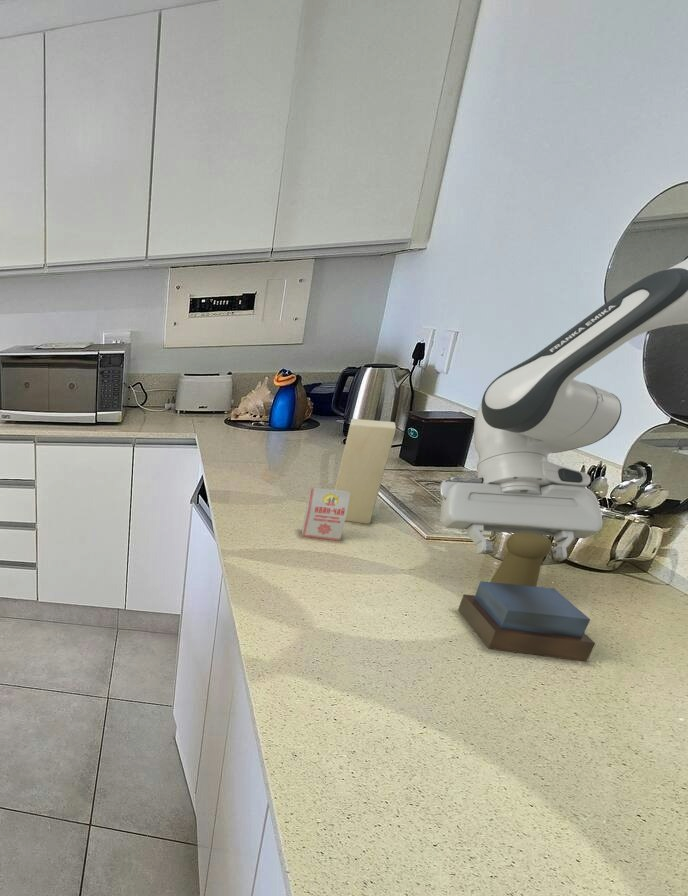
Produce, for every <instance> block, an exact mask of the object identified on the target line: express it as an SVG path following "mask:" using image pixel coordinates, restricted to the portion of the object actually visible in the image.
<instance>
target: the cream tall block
mask: <svg viewBox="0 0 688 896" xmlns="http://www.w3.org/2000/svg"><path fill="white" fill-rule="evenodd" d="M396 431H397V426H396V422H394V421H385V420H375V419H374V420H372V419H359V418H351V420H350V424H349V427H348V432H347V436H346V442H345V445H344V448H343V453H342V457H341V462H340V465H339V469H338V474H337V478H336V480H335V486H334V489H333V490H340V491H350V498H349V503H348V509H347V515H346V519H345V522H353V523H357V524H358V523H360V524H364V525H365V524H366V525H370V524H371V520H372V517H373V514H374V511H375V508H376V507H375V506H376V503H377V499H378V496H379V492H380V489H381V485H382V482H383V478H384V474H385V471H386V467H387V463H388V460H389V456H390V453H391V449H392V445H393V442H394V438H395V434H396Z"/></svg>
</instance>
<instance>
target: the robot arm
mask: <svg viewBox="0 0 688 896" xmlns="http://www.w3.org/2000/svg"><path fill="white" fill-rule="evenodd" d="M686 324H687V325H688V258H686V259H684V260H683V261H681V262H679V263H677V264H675V265H673V266H671V267H669V268H667V269H664V270H659V271H656V272H653V273H651V274H649V275H647V276H645V277H643V278H641V279H639V280H638V281H636V282H634V283H633V284H632V285H629V286H628V287H627V288H625V289H624V290H622V291H621V292H620V293H617V295H615V296H614V297H612V298H611V299H610V300H608V301H607V302H606V303H604V304H603V305H601V306H600V307H599V308H597V309H596V310H595V311H593V312H591V313H590V314H589V315H587V316H586V317H585V318H583V319H582V320H580V321H579V322H578V323H577V324H575V325H573V327H571V328H570V329H568V330H567V331H565V332H564V333H562V335H560V336H559V337H558V338H556V339H555V340H553V341H552V342H551V343H549V344H548V345H546V346H545V347H544V348H542V349H541V350H540V351H538V352H536V353H535V354H534V355H532V356H531V357H529V358H527V359H526V360H523V361H522V362H520V363H519V364H517V365H515V366H513V367H511V368H510V369H508V370H506V371H504V372H503V373H501V374H500V375H498V376H497V377H496V378H495V379H493V380H492V381H491V382H490V384H489V385H488V386H487V388H485V391H484V393H483V396H482V399H481V403H480V404H479V406H478V408H477V411H476V413H475V417H474V422H473V423H474V424H473V438H474V448H475V451H476V452H477V455H478V461H477V463H476V473H477V474H476V475H477V477H460V476H450V477H449V478H446V479H443V480H442V481H441V482H440V484H439V495H440V497H441V498H442V500H441V506H440V520H439V521H440V523H441V524H442V526H444V527H445V529H454V530H466V535H467V537H468V538H469V539H470V540H471V541H472V542H473V543H474V545H476V553H477V554H479V555H491V554H492V553H494V549H495V548H494V547H493V546H494V541H492V540H491V541H489V540H487V538H485V536H484V534H482V532H495V533H506V534H507V533H508V534H514V533H517V532H531V533H536V534H540V535H543V536H545V537H553V539H554V542H555V543H557V544H556V546H552V549H551V551H550V552H549V554H548V555H547V556H548V560H549V561H558V562H563V561H564V560H566V559H567V558H568V552H567V551H568V550H567V548H568V547H569V546H570V544H571V543H572V542H573V540H574V539H586V538H588V537H590V536H593V535H595V534H596V533H597V532H599V531H600V530H601V529H602V528H603V524H604V521H603V517H602V511H601V507H600V503H599V501H598V498H597V496H596V494H595V493H594V492H593V490H591V489H590V488H588V487H587V486H589V485H590V484H591V476H590V475H589V474H588V473H587V472H583V471H580V470H576V469H573V468H569V467H565V466H563V465H562V466H561V465H559V464H556V463H553V462H550V461H548V456H549V455H550V454H558V453H563V452H568V451H572V450H577V449H580V448H584V447H587V446H591V445H593V444H595V443H597V442H599V441H601V440H602V439H604V438H606V437H607V436H609V434H610V433H612V432H613V430H614V429H615V428H616V426H617V425H618V423H619V421H620V419H621V415H622V403H621V400H620V399H619V397H618V396H616V395H615V394H614V393H612V392H609V391H608V390H605V389H603V388H599V387H597V386H594V385H591V384H589V383H586V382H582V381H579V380H576V379H575V378H576V377H577V376H579V375H580V374H582V373H583V372H585V371H586V370H588V369H589V368H591V367H593V366H594V365H595V364H596V363H598V362H600V361H601V360H602V359H604V358H605V357H607V356H608V355H610V354H611V353H613V352H614V351H616V350H618V348H620V347H621V346H623V345H624V344H626V343H627V342H629V341H630V340H633V338H636V337H637V336H640V335H642V334H644V333H646V332H650V331H653V330H657V329H661V328H664V327H670V326H678V325H686Z"/></svg>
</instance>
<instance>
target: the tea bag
mask: <svg viewBox="0 0 688 896" xmlns="http://www.w3.org/2000/svg"><path fill="white" fill-rule="evenodd" d="M349 498H350V491H340V490H334V489H327V488H320V487H319V488H318V487H317V488H316V487H311V488H310V493H309V496H308V500H307V503H306V509H305V512H304V517H303V523H302V527H301V534H302V537H305V538H313V539H321V540H322V539H323V540H330V541H338V542H341V540H342V535H343V531H344V526H345V524H346V523H345V522H346V521H345V519H346V515H347V509H348V503H349Z"/></svg>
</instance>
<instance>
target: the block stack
mask: <svg viewBox="0 0 688 896" xmlns="http://www.w3.org/2000/svg"><path fill="white" fill-rule="evenodd" d="M457 611H458V613H459V614H460V615H461V616H462V618H464V620H465V621H466V622H467V624H468V625H469V626H470V627H471V629H472V630H473V631H474V633H476V635H477V636H478V637H479V639H480V640H481V641H482V642H483V644H484V645H485V646H486V647H487V648H488V649H489V650H495V651H504V652H510V653H511V652H512V653H520V654H527V655H533V656H534V655H535V656H544V657H550V658H557V659H566V660H573V661H580V662H581V661H582V662H588V660H589V657H590V656H591V654H592V652H593V650H594V648H595V646H596V642H595V641H594V640H592V638H591V637H589V635H587V634H586V633H585V632H586V630H587V628H588V626H589V624H590V621H591V618H589V617H588V616H587V615H586V614H585V613H584V612H583V611H581V610H580V609H579V608H578V607H577V606H576V605H574V604H573V603H572V602H571V601H570V600H568V598H566V597H565V596H564V595H562V593H560V592H559V591H558V590H557V589H556V588H554V587H545V586H544V587H543V586H537V587H535V586H525V585H514V584H504V583H494V582H490V581H483V580H480V581H479V584H478V586H477V589H476V591H475V595H473V594H464V593H463V595H462V598H461V601H460V604H459V606H458V609H457Z"/></svg>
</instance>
